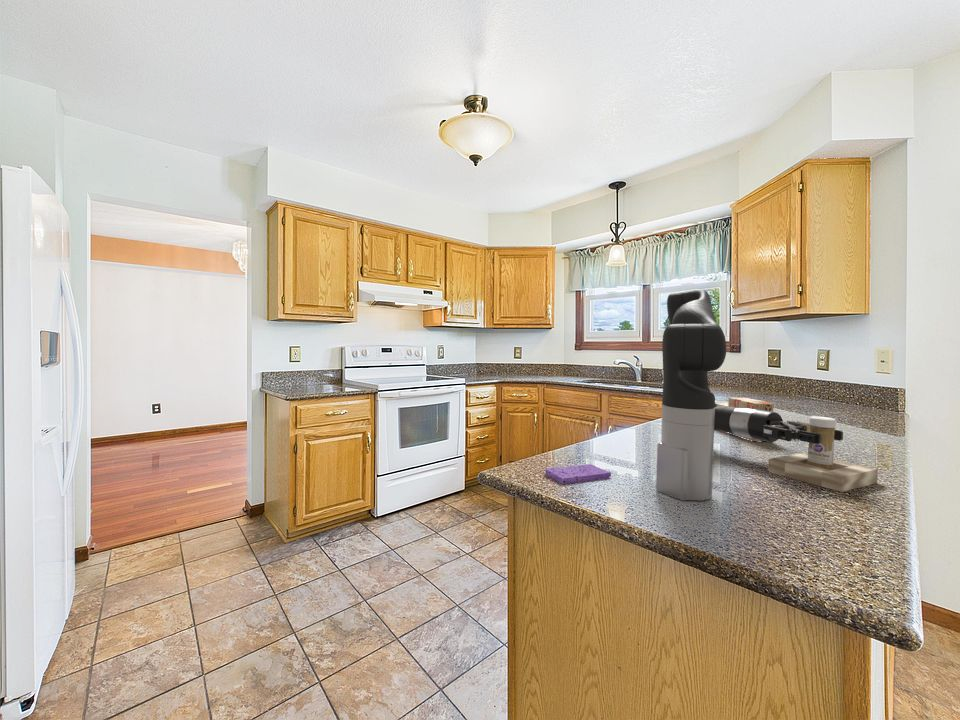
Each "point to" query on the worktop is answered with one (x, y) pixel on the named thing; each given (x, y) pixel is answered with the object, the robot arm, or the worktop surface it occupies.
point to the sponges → (577, 473)
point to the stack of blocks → (748, 404)
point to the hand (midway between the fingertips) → (831, 437)
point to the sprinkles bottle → (822, 442)
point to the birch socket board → (824, 472)
